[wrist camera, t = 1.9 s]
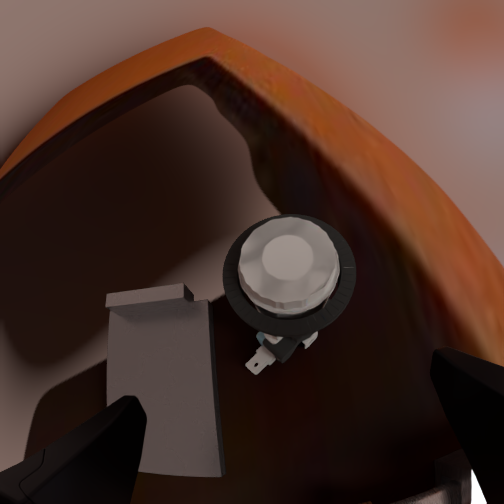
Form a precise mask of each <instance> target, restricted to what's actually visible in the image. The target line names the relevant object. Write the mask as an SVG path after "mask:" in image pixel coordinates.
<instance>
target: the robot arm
mask: <svg viewBox="0 0 504 504" xmlns="http://www.w3.org/2000/svg"><path fill="white" fill-rule="evenodd" d="M430 376H431V379H432V382H433V384H434V387H435V389H436V392H437V394H438V397H439V399H440V402H441V404H442V407H443V410H444V412H445V414H446V417H447V419H448V421H449V423H450V425H451V427H452V429H453V431H454V433H455V435H456V436H457V439H458V441H459V443H460V445H461V447H462V449H463V451H464V453H465V455H466V457H467V459H468V461H469V464H470V466H471V468H472V470H473V472H474V475H475V477H476V479H477V481H478V484H479V486H480V488H481V491H482V493H483V496H484V498H485V500H486V503H487V504H504V367H503V366H500V365H497V364H494V363H491V362H489V361H486V360H483V359H480V358H477V357H475V356H472V355H469V354H466V353H464V352H461V351H458V350H455V349H453V348H450V347H447V346H444V347H441V348H438V349H436V350H434V352H433V356H432V363H431V369H430ZM146 425H147V415H146V412H145V411H144V409H143V407H142V405H141V403H140V401H139V399H138V398H137V397H136V396H134V395H124V396H122V397H121V398H119V399H118V400H116V401H115V402H113V403H112V404H111V405H109V406H108V407H106V408H105V409H103V410H102V411H100V412H99V413H97V414H96V415H94V416H93V417H91V418H90V419H88V420H87V421H85V422H84V423H82V424H81V425H79V426H78V427H76V428H75V429H73V430H72V431H70V432H69V433H67V434H66V435H64V436H63V437H61V438H60V439H58V440H56V441H55V442H53V443H52V444H50V445H49V446H47V447H46V449H45V448H44V449H42V450H41V451H39V452H38V453H36V454H34V455H33V456H31V457H29V458H27V459H26V460H24V461H22V462H20V463H18V464H17V465H14V466H12V467H10V468H8V469H6V470H4V471H2V472H0V504H130V501H131V497H132V493H133V489H134V485H135V481H136V477H137V473H138V470H139V466H140V462H141V457H142V451H143V444H144V438H145V431H146Z"/></svg>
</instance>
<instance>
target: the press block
mask: <svg viewBox="0 0 504 504" xmlns="http://www.w3.org/2000/svg"><path fill="white" fill-rule="evenodd" d="M434 466H435V483H436V487H438V486H440V485H442V484H445V483H447V482H449V481H451V480H457V481H460V482H462V504H487V503H486V500H485V498H484V496H483V493H482V491H481V488H480V486H479V484H478V481H477V479H476V477H475V475H474V472H473V470H472V468H471V466H470V464H469V461H468V459H467V457H466V455H465V453H464V451H463V449H462V448H461V449H459V450H457V451H455V452H452V453H450V454H448V455H446V456H443V457H441V458H438V459H436V460H434Z"/></svg>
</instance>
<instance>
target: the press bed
mask: <svg viewBox="0 0 504 504" xmlns="http://www.w3.org/2000/svg"><path fill="white" fill-rule="evenodd" d="M106 308H108V309H109V310H111V311H110V317H109V332H108V353H107V407H108V406H109V405H111V404H112V403H113V402H115V401H116V400H118V399H119V398H121V397H122V396H124V395H134V396H136V397H137V398H138V399H139V401H140V403H141V405H142V407H143V409H144V411H145V412H146V415H147V425H146V431H145V438H144V444H143V451H142V457H141V462H140V466H139V470H138V471H139V472H147V473H156V474H166V475H178V476H196V477H222V476H223V475H225V474H226V468H225V459H224V450H223V440H222V430H221V419H220V408H219V397H218V384H217V371H216V357H215V342H214V325H213V307H212V304H211V303H210V302H209V301H208V300H200V301H194V295H193V293H192V292H191V291H190V290H189V289H188V288H187V286H186V285H185V284H184V283H180V284H173V285H166V286H160V287H153V288H145V289H138V290H132V291H124V292H117V293H110V294H107V298H106Z"/></svg>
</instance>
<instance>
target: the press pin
mask: <svg viewBox="0 0 504 504" xmlns="http://www.w3.org/2000/svg"><path fill="white" fill-rule="evenodd" d="M360 504H372V503H371V502H370V501H368V502H364V503H360ZM391 504H462V482H460V481H457V480H451V481H449V482H447V483H445V484H442V485H440V486H438V487H435V488H433V489H431V490H428V491H425V492H423V493H420V494H418V495H415V496H412V497H409V498H406V499H403V500H400V501H397V502H394V503H391Z"/></svg>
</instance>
